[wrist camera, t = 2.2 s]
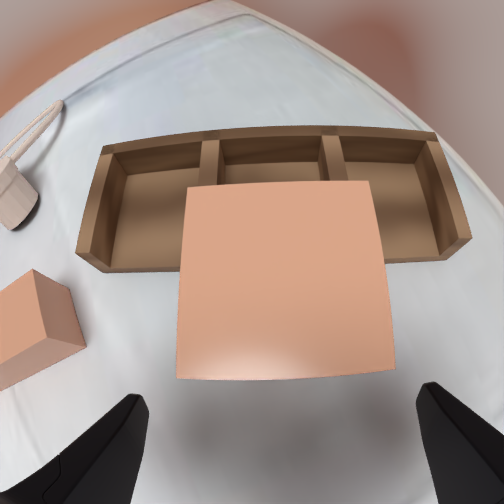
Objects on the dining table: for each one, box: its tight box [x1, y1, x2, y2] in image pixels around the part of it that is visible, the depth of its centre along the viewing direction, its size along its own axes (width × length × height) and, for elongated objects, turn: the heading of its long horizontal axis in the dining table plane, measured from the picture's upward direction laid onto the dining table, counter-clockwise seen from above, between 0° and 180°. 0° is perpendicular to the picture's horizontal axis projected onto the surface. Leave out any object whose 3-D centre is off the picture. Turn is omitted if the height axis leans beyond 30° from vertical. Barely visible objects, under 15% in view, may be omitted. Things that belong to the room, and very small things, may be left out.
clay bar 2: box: [176, 181, 396, 380], centre depth 13 cm, size 5×5×13 cm
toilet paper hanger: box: [0, 100, 63, 230], centre depth 26 cm, size 20×5×16 cm
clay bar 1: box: [0, 269, 86, 391], centre depth 18 cm, size 13×5×5 cm, turn 118°
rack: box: [75, 125, 472, 273], centre depth 21 cm, size 9×26×4 cm, turn 91°
